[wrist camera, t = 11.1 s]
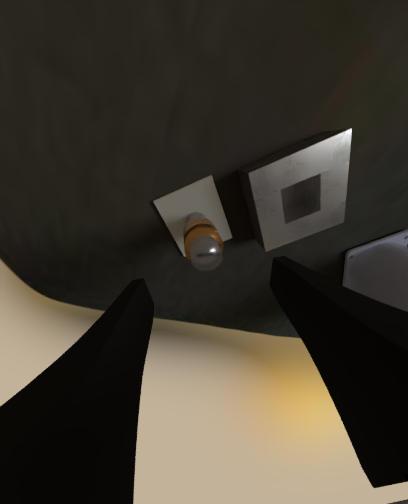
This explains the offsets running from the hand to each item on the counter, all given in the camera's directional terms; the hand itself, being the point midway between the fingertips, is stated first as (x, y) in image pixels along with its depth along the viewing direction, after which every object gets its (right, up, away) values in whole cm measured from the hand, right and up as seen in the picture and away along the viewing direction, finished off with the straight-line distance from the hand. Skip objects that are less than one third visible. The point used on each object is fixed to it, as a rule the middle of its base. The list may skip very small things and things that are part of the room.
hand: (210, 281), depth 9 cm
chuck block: (+8, +8, +8) cm, 14 cm away
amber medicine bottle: (-1, +5, +8) cm, 9 cm away
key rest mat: (-1, +5, +8) cm, 10 cm away
